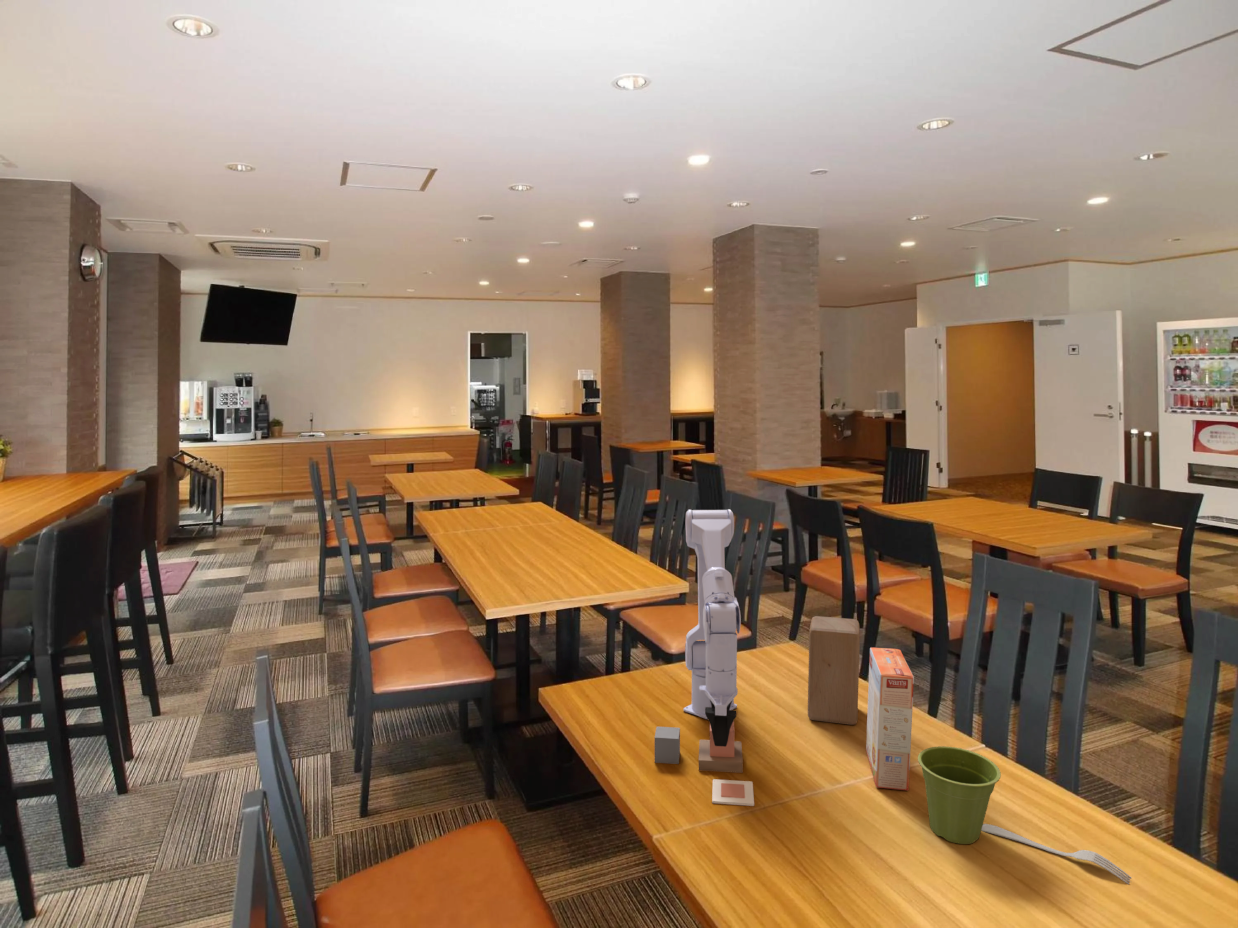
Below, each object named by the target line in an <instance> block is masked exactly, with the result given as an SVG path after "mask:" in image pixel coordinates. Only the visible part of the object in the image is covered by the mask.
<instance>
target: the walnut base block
mask: <svg viewBox="0 0 1238 928" xmlns="http://www.w3.org/2000/svg"><path fill="white" fill-rule="evenodd" d="M698 744H699V746H698V771H705V772H706V771H707V772H722V773H723V772H724V773H725V772H726V773H740V774H742V773H744V772H743V771H744V767H743V763H744V761H743V760H744V759H743V750H742V749H743V748H742V747H743V746H742V745H743V744H742V741H738V740H736V741H735V740H734V757H717V756H710V739H699V743H698Z"/></svg>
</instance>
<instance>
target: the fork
mask: <svg viewBox="0 0 1238 928" xmlns="http://www.w3.org/2000/svg"><path fill="white" fill-rule="evenodd" d="M981 832H984V833H987V834H992V835H995V836H998V837H1002V838H1006V839H1009V840H1012V841H1014V842H1015V841H1016V842H1018V843H1022V844H1025V845H1029V846H1032V847H1035V848H1038V849H1040V850H1043V851H1046V852H1049V853H1052V854H1055V855H1059V856H1064V857H1071V858H1075V859H1076V860H1083V861H1089V862H1091V863H1094V864H1095V865H1097V866H1100V868H1103V869H1105V870H1106V871H1108V872H1109V873H1110V874H1112V875H1114V876H1115V877H1117V878H1119V879H1120V880H1121V881H1123V882H1124V883H1126V884H1127V885H1129V884H1130V882H1131V881H1130V879H1131V878H1132V876H1130V875H1129V874H1128V873H1126V871H1124V870H1123V869H1121V868H1120V867H1118V865H1116V864H1114V863H1113V862H1112V861H1110V860H1109V859H1107V858H1106V857H1104V856H1103V855H1101V854H1099V853H1098V852H1095V851H1092V850H1087V849H1086V850H1085V849H1080V850H1077V851H1076V852H1075V851H1074V852H1064V851H1062V850H1061V851H1060V850H1057V849H1055V848H1052V847H1049V846H1046V845H1043V844H1041V843H1038V842H1036V841H1033V840H1032V839H1029V838H1026V837H1024V836H1022V835H1019V834H1017V833H1014V832H1013V831H1010V830H1007V829H1005V828H1002V827H999V826H997V825H994V824H990V823H989V824H988V823H983V825H982V829H981Z"/></svg>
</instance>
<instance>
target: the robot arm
mask: <svg viewBox="0 0 1238 928" xmlns="http://www.w3.org/2000/svg"><path fill="white" fill-rule="evenodd" d="M734 534H735V516H734V513H733V511H732V510H731V509H729V508H728V509H693V510H692V509H687V511H686V512H685V542H686V545H687V547H688V548H691V549H693V550H694V551H695V554H696V557H697V603H698V604H697V607H698V608H697V609H698V610H697V611H698V612H697V617H698V618H697V619H698V620H697V621H698V623H697V625H696V626H694V627H693V628H692V629H690V630H689V631H688V632H687V634H686V635H685V644H684V645H685V646H684V647H685V648H684V651H685V652H684V653H685V656H684V658H685V668H687V670H688V671H691V704H689V705H687V706H685V707H683V711H684V712H685V713H689V714H692V715H694V716H698V717H700V718H703V719H705V720H708V723H709V726H710V725H711V729H712V735H713V740H714V744H715V746H724V747H726V745H727V742H728V737H729V732H730V728H731V725H732V723H733V721H734V722H735V720H736V717H737V710H734V709H737V707H738V704H737V703H735V698H736V697H737V695H738V690H739V689H738V687H737V681H738V679H737V678H738V677H737V672H738V671H737V670H738V667H737V665H738V664H737V663H738V662H737V660H738V659H737V657H738V634H740V631H741V626H742V625H741V623H742V621H741V620H742V619H741V618H742V616H741V610H740V609H741V608H740V606H739V602H738V598H737V597H736V596H735V592H734V584H733V576H732V574H731V572H729V570H727V569H726V567H725V566H726V565H725V564H726V563H725V562H726V561H725V557H726V556H725V548H726V547H729V546H730V543H731V542H732V539H733V538H734Z"/></svg>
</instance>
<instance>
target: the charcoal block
mask: <svg viewBox="0 0 1238 928" xmlns="http://www.w3.org/2000/svg"><path fill="white" fill-rule="evenodd" d="M680 753H681V727H675V726H674V727H673V726H672V727H671V726H656V728H655V734H654V763H657V764H659V763H660V764H670V765H671V764H672V765H674V764H675V765H676V764H677V765H679V763H680Z"/></svg>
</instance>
